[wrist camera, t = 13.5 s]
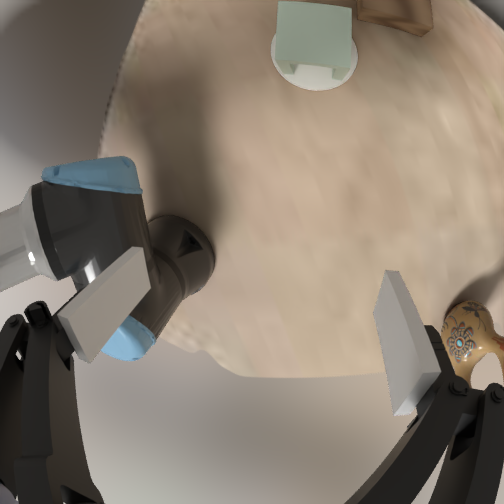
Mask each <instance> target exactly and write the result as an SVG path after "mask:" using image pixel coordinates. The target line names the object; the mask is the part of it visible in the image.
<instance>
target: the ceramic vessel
mask: <svg viewBox="0 0 504 504" xmlns="http://www.w3.org/2000/svg"><path fill="white" fill-rule="evenodd" d="M441 339H442V341H443V343H444V346H445V348H446V349H445V350H446V351H447V353H448V356H449V358H450V361H451V363H452V366H453V367H454V370H455V374H456V375H458V376H460V377H462V378H464V379H465V380H466V381H467V383H468V384H469V386H470V388H472V387H471V381H470V379H471V373H472V371H473V368H474V366H475V365H476V364H477V363H478V362H479V361H480V360H481V359H482V358H483V357H484V356H485V355H486V354H487V353H490V352H493V353H495V354H496V355H497V357H498V359H499V361H500V364H501V367H502V373H503V380H504V337H503V336H500V335H498V334H497V333H496V332H495V330H494V324H493V320H492V317H491V314H490V312H489V311H488V309H487V308H486V307H485V306H484V305H482V304H481V303H479V302H477V301H464V302H461V303H459V304H457V305H456V306H455V307H454V308H452V310H451V311H450V312H449V313H448V315H447V317H446V319H445V321H444V323H443V326H442V330H441Z"/></svg>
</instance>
